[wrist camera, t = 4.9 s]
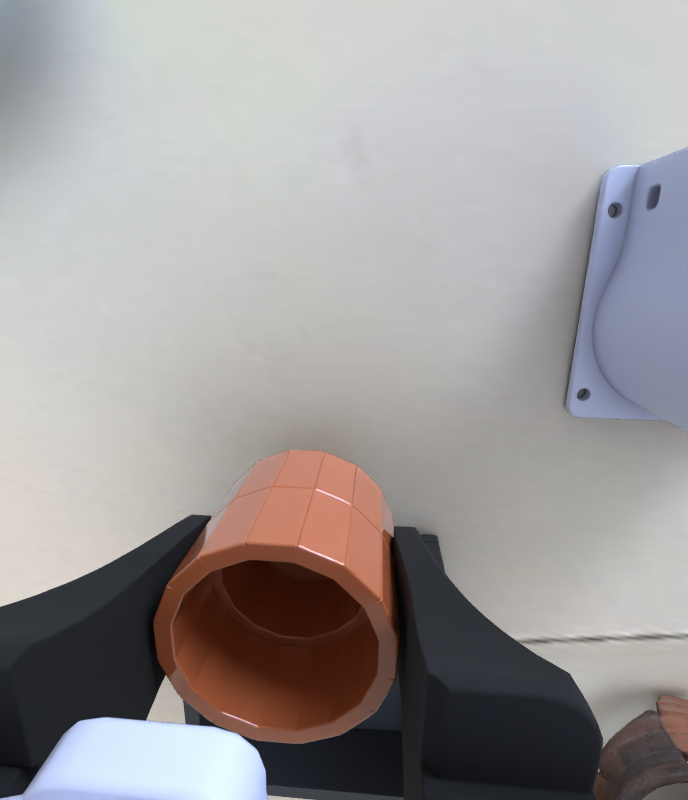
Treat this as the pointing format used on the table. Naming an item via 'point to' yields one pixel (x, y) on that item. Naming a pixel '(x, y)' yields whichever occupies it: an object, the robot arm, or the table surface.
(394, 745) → the tray
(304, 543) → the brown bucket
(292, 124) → the table surface
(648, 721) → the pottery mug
